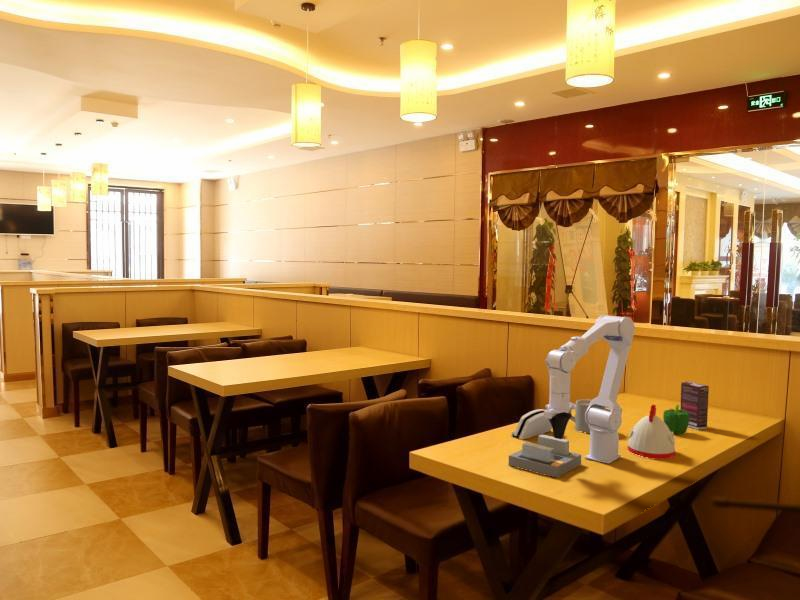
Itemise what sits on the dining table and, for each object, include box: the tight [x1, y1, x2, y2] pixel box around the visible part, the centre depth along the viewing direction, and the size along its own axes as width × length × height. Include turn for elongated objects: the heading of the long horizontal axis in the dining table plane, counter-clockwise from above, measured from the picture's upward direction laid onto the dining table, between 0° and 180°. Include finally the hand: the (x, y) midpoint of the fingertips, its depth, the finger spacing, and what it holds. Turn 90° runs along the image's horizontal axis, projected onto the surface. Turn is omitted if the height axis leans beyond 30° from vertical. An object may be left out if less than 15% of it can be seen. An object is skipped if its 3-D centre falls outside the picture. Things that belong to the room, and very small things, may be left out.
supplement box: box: [679, 381, 710, 431], centre depth 227 cm, size 9×5×16 cm, turn 22°
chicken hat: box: [627, 404, 676, 460], centre depth 197 cm, size 14×14×15 cm
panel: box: [521, 441, 555, 465], centre depth 179 cm, size 2×9×7 cm, turn 49°
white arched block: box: [510, 408, 553, 440], centre depth 215 cm, size 17×5×10 cm, turn 130°
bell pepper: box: [662, 403, 689, 435], centre depth 218 cm, size 8×8×10 cm
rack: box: [508, 434, 582, 479], centre depth 183 cm, size 16×16×7 cm
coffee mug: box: [566, 398, 606, 434], centre depth 223 cm, size 13×10×10 cm
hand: (558, 438), depth 179 cm, fingers closed
